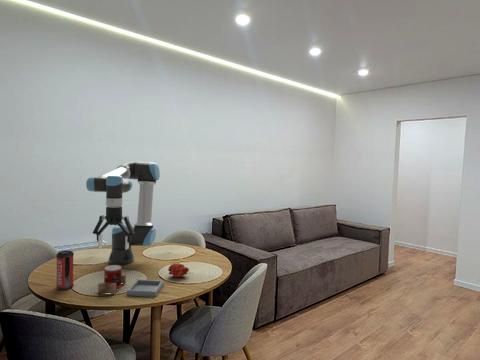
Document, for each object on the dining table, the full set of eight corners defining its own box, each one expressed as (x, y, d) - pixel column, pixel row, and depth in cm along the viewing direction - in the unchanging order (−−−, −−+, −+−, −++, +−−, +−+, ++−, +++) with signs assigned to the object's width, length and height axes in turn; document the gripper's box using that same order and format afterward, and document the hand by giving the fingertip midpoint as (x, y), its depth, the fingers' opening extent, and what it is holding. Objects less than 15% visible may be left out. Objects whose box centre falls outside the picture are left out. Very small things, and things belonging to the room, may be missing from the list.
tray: (126, 295, 149) (126, 290, 149) (137, 284, 163) (137, 279, 163) (155, 296, 148) (155, 291, 148) (163, 285, 162) (163, 280, 162)
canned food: (107, 285, 160) (107, 264, 159) (123, 285, 160) (123, 264, 160) (101, 291, 152) (102, 270, 151) (118, 291, 153) (118, 270, 152)
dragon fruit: (166, 278, 176) (187, 281, 176) (165, 274, 169) (187, 278, 169) (170, 264, 180) (190, 267, 181) (169, 259, 173) (190, 262, 174)
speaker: (77, 285, 159) (77, 250, 158) (65, 291, 151) (65, 255, 150) (64, 283, 160) (64, 249, 159) (52, 289, 153) (52, 253, 152)
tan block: (98, 294, 149) (98, 284, 149) (111, 282, 163) (111, 273, 163) (114, 294, 149) (114, 284, 149) (126, 283, 163) (126, 274, 163)
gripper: (85, 206, 150) (85, 249, 151) (136, 208, 150) (135, 251, 151) (93, 204, 158) (92, 245, 159) (141, 206, 157) (140, 247, 158)
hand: (113, 248), depth 155 cm, fingers open, 13 cm apart
